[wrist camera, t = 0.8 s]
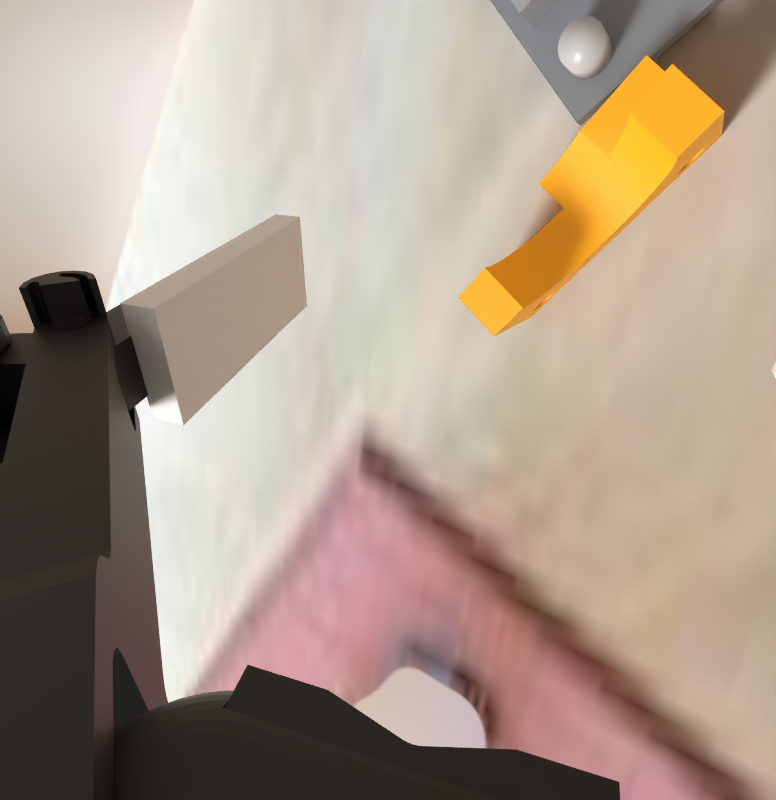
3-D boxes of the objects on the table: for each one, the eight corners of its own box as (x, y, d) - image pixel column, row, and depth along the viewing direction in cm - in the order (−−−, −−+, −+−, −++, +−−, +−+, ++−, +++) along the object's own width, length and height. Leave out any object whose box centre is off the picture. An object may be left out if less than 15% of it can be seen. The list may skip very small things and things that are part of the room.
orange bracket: (653, 72, 25) (638, 32, 20) (721, 135, 24) (724, 111, 19) (480, 263, 32) (434, 271, 26) (531, 316, 31) (493, 336, 26)
